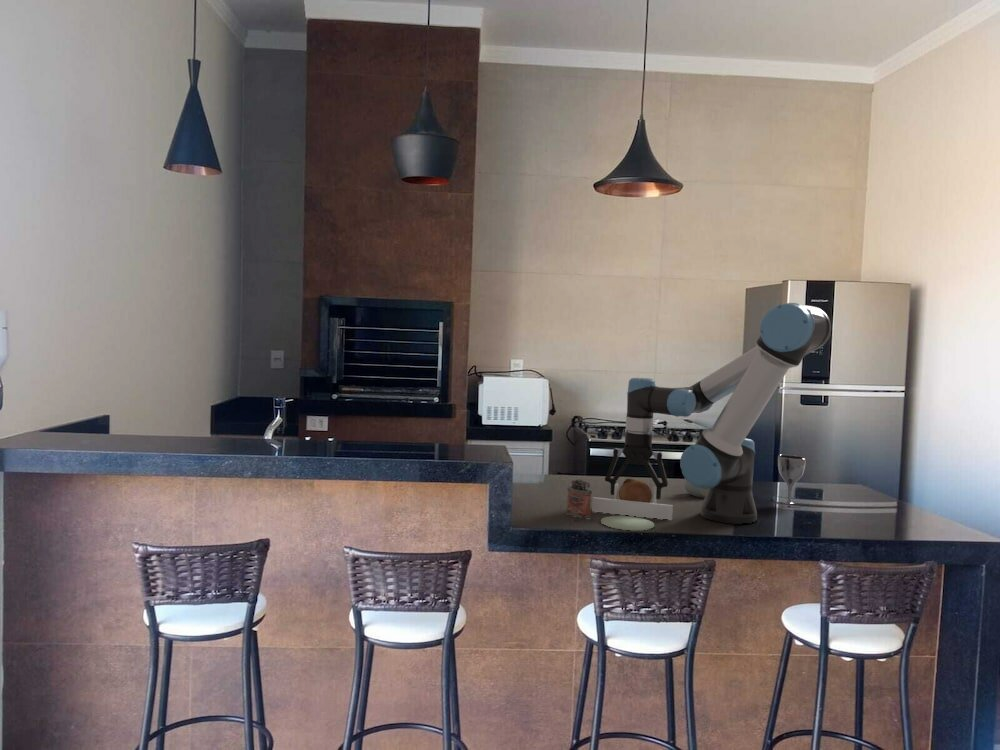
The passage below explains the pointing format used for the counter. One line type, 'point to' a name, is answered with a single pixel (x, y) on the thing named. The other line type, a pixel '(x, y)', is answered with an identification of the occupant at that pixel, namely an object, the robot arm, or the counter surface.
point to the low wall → (632, 508)
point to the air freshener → (695, 490)
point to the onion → (635, 491)
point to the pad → (627, 523)
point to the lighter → (579, 499)
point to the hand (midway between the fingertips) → (634, 508)
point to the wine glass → (791, 470)
